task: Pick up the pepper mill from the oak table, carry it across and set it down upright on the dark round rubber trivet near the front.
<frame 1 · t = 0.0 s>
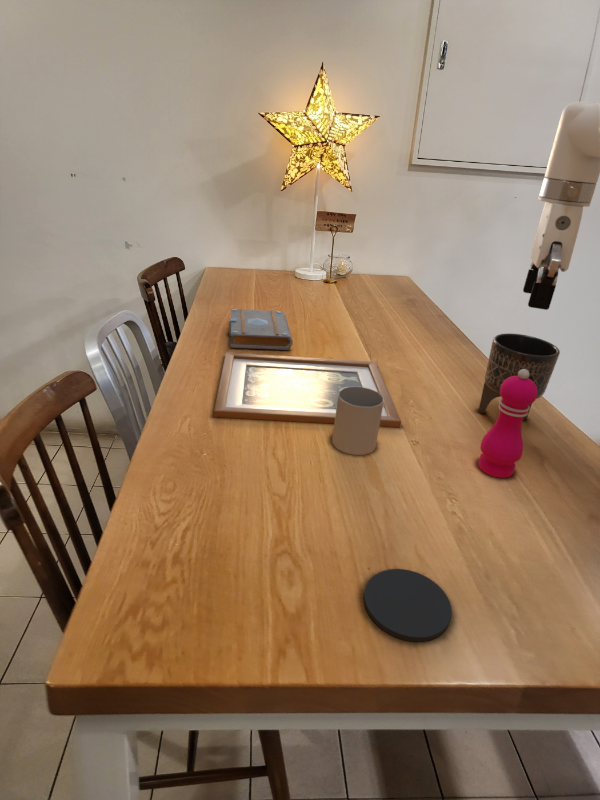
hand: (534, 300, 91), 30 cm above the table, tool pointing down, fingers open, 9 cm apart
book: (258, 336, 150), on the table
trivet: (406, 605, 69), on the table
wall art: (304, 389, 123), on the table
pepper mill: (495, 469, 100), on the table
cup: (353, 443, 103), on the table
planter: (503, 421, 117), on the table
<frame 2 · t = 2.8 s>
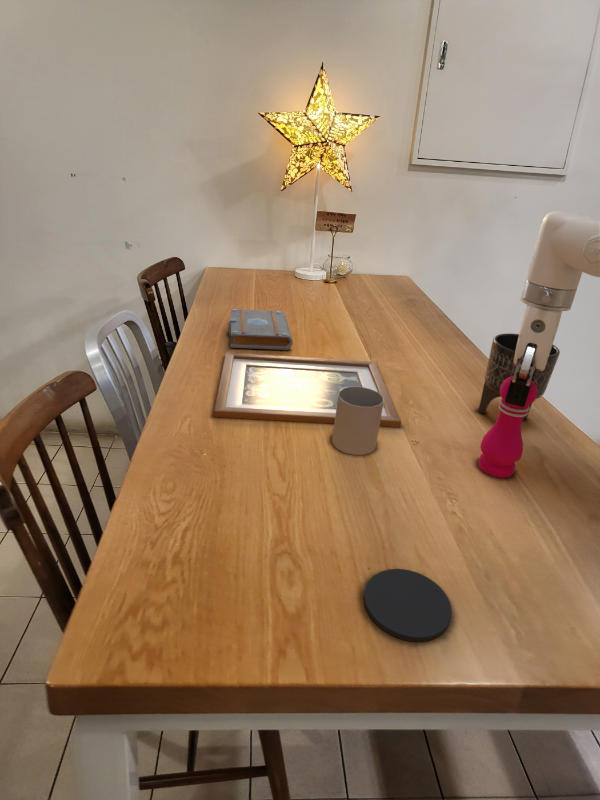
hand: (517, 396, 93), 15 cm above the table, tool pointing down, fingers closed on pepper mill, 6 cm apart
pepper mill: (495, 469, 100), on the table, touching gripper
everything else where it was.
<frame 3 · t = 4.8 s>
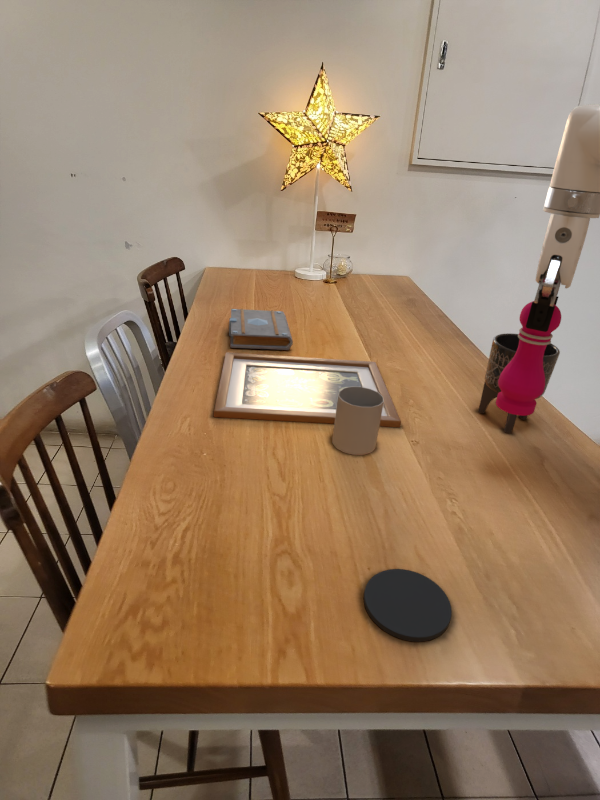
hand: (538, 323, 85), 29 cm above the table, tool pointing down, fingers closed on pepper mill, 6 cm apart
pepper mill: (514, 408, 92), point 14 cm above the table, touching gripper
everything else where it was.
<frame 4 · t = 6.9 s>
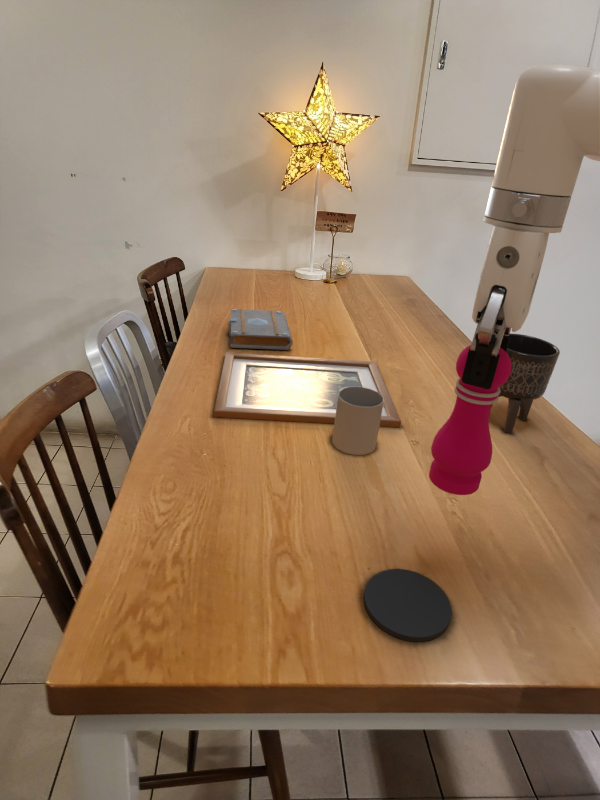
hand: (482, 373, 62), 30 cm above the table, tool pointing down, fingers closed on pepper mill, 6 cm apart
pepper mill: (453, 482, 69), point 14 cm above the table, touching gripper
everything else where it was.
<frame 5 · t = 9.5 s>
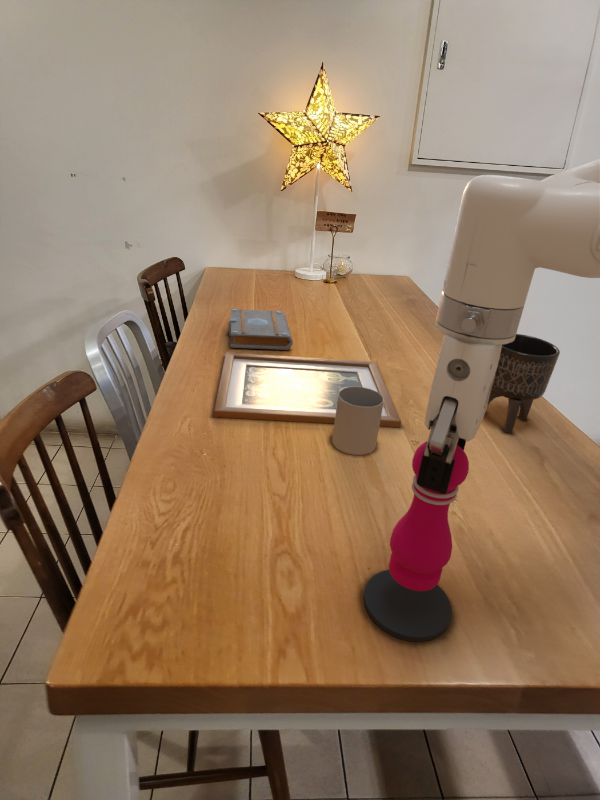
hand: (439, 471, 59), 21 cm above the table, tool pointing down, fingers closed on pepper mill, 6 cm apart
pepper mill: (413, 573, 66), point 5 cm above the table, touching gripper
everything else where it was.
when the fingers open (16 cm above the table, at t = 11.2 s): pepper mill stays where it is, resting on trivet.
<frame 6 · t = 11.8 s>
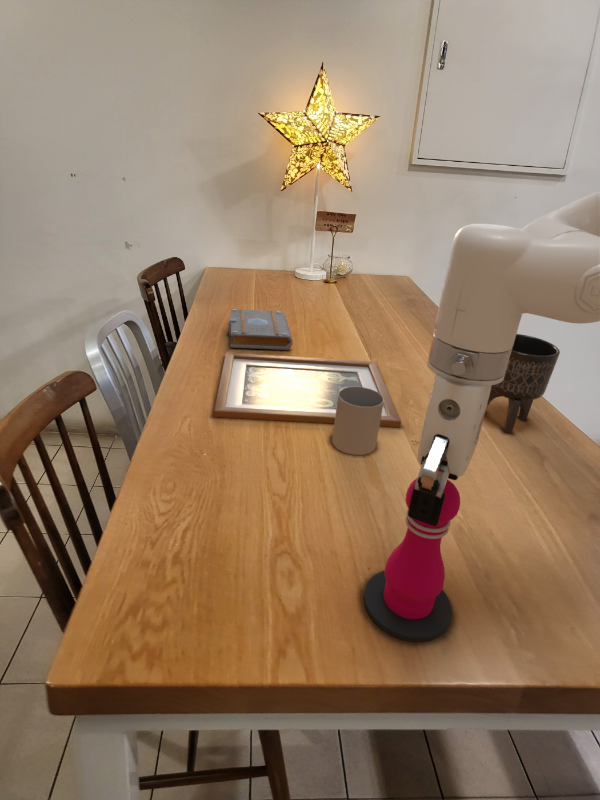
hand: (433, 496, 61), 17 cm above the table, tool pointing down, fingers open, 9 cm apart
pepper mill: (407, 601, 68), point 1 cm above the table, touching trivet
everything else where it was.
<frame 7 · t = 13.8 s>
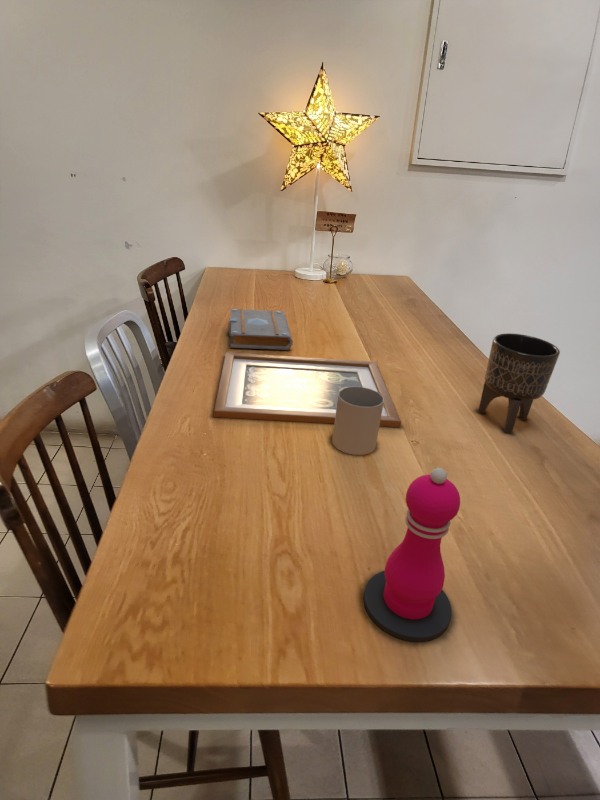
nothing on the table moved.
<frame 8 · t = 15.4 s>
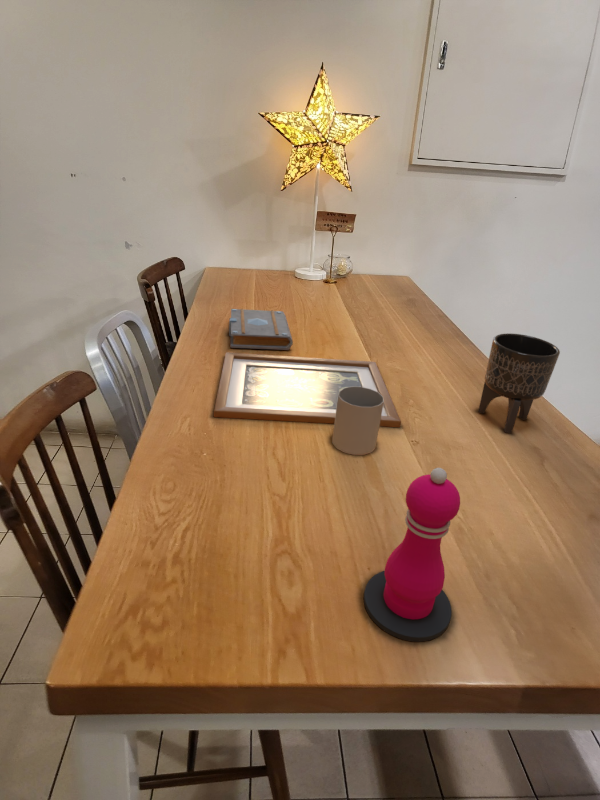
nothing on the table moved.
at the end: pepper mill inside the target area on the trivet (0.0 cm from its centre), point 0.6 cm above the trivet's base; pepper mill tilted 0°; the gripper is holding nothing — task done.
